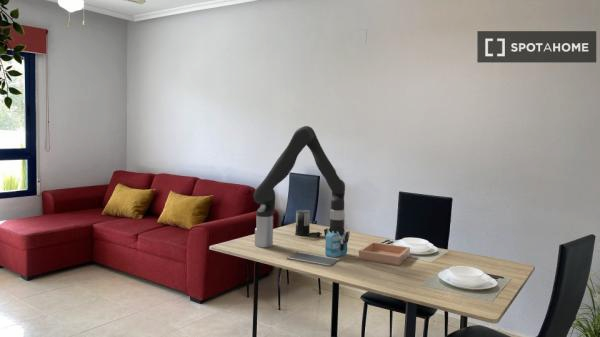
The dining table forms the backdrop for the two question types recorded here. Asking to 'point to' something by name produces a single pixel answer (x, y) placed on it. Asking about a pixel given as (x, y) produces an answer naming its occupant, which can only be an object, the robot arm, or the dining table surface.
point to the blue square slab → (334, 245)
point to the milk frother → (304, 223)
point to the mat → (313, 259)
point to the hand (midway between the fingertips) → (336, 249)
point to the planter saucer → (384, 253)
